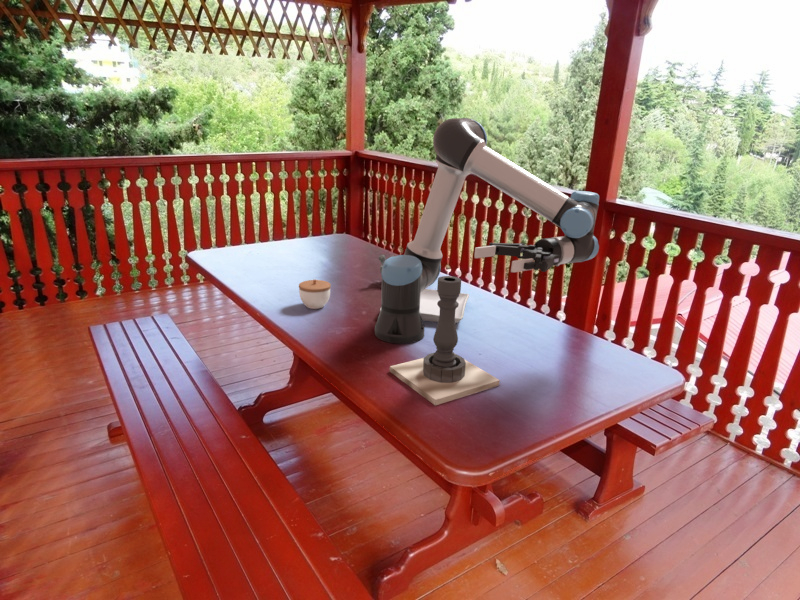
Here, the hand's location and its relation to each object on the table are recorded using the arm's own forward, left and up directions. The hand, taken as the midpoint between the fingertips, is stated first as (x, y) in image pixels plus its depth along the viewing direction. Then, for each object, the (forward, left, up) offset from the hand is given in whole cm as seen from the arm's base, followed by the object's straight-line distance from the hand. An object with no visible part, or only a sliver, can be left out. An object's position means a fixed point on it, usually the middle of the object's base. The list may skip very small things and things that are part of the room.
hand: (493, 259), depth 136 cm
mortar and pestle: (-76, +18, -30) cm, 84 cm away
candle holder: (-1, -13, -29) cm, 32 cm away
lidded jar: (-66, -19, -30) cm, 75 cm away
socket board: (-1, -13, -30) cm, 33 cm away
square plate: (-45, +13, -31) cm, 56 cm away
